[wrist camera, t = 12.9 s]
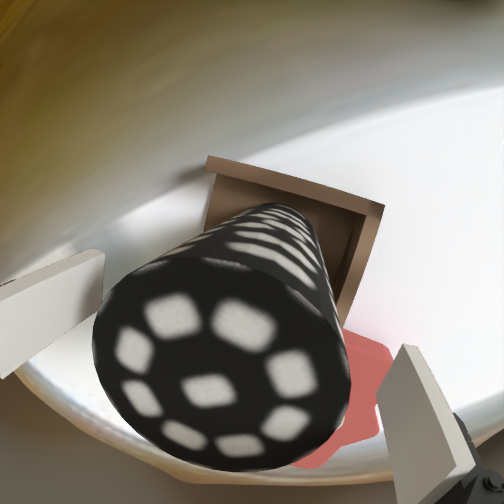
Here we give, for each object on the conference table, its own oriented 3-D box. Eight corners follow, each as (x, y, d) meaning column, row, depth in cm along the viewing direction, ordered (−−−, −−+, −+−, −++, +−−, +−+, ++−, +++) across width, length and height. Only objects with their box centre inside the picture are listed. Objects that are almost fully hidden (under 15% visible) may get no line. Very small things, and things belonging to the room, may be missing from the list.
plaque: (335, 480, 29) (220, 445, 30) (335, 458, 32) (228, 424, 33) (428, 375, 24) (288, 322, 25) (417, 355, 28) (291, 305, 29)
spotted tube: (245, 303, 29) (163, 473, 10) (213, 221, 28) (55, 299, 9) (330, 278, 28) (369, 451, 8) (300, 189, 26) (302, 209, 7)
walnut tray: (222, 159, 27) (208, 155, 23) (372, 201, 26) (385, 205, 22) (191, 293, 31) (175, 310, 26) (326, 333, 29) (329, 356, 25)
